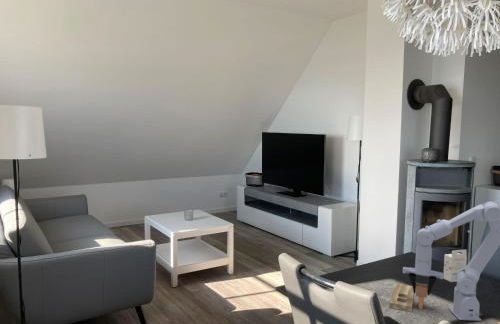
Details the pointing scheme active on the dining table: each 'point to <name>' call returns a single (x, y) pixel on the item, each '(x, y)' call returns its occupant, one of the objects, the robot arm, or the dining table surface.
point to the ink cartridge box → (454, 264)
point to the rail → (402, 297)
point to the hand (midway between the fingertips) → (421, 293)
